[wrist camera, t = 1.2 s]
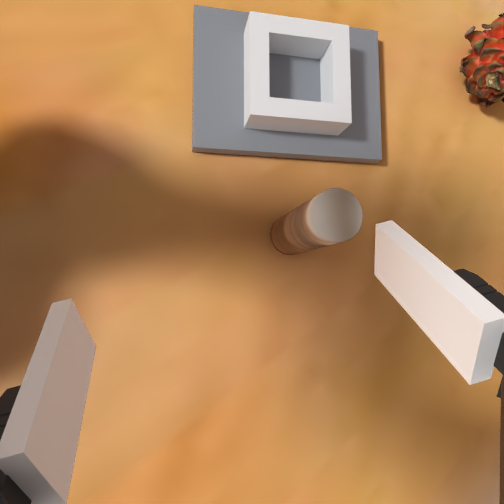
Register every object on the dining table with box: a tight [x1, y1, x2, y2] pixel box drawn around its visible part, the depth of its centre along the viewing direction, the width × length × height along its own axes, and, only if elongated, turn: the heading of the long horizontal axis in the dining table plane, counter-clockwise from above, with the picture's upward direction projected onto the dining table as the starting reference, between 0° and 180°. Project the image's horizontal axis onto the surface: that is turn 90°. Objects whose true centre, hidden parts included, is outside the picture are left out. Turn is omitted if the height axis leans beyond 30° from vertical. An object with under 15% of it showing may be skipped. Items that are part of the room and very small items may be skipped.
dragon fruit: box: [460, 13, 504, 107], centre depth 48 cm, size 8×8×12 cm
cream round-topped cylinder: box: [271, 188, 363, 255], centre depth 37 cm, size 4×4×13 cm
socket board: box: [192, 5, 382, 164], centre depth 43 cm, size 22×16×5 cm
